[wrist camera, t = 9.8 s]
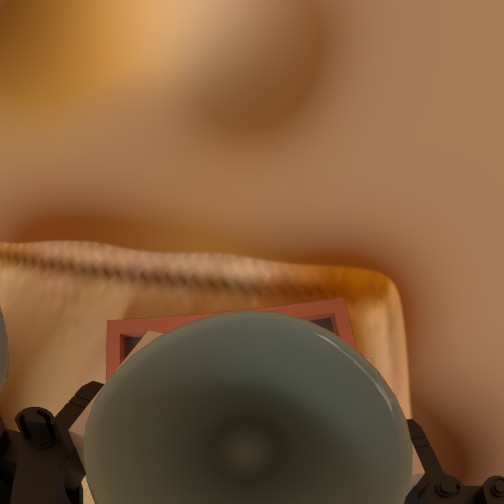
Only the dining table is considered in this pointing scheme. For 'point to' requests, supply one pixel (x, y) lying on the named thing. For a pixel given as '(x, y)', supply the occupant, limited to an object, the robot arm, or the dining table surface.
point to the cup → (247, 419)
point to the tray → (133, 330)
